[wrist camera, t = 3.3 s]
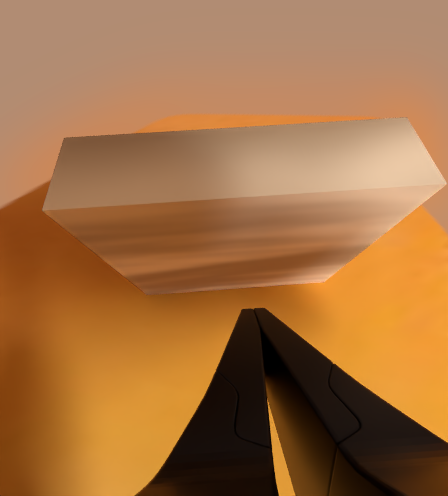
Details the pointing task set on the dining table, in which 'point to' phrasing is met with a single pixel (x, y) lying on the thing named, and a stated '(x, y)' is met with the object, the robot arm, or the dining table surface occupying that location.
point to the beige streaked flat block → (239, 200)
